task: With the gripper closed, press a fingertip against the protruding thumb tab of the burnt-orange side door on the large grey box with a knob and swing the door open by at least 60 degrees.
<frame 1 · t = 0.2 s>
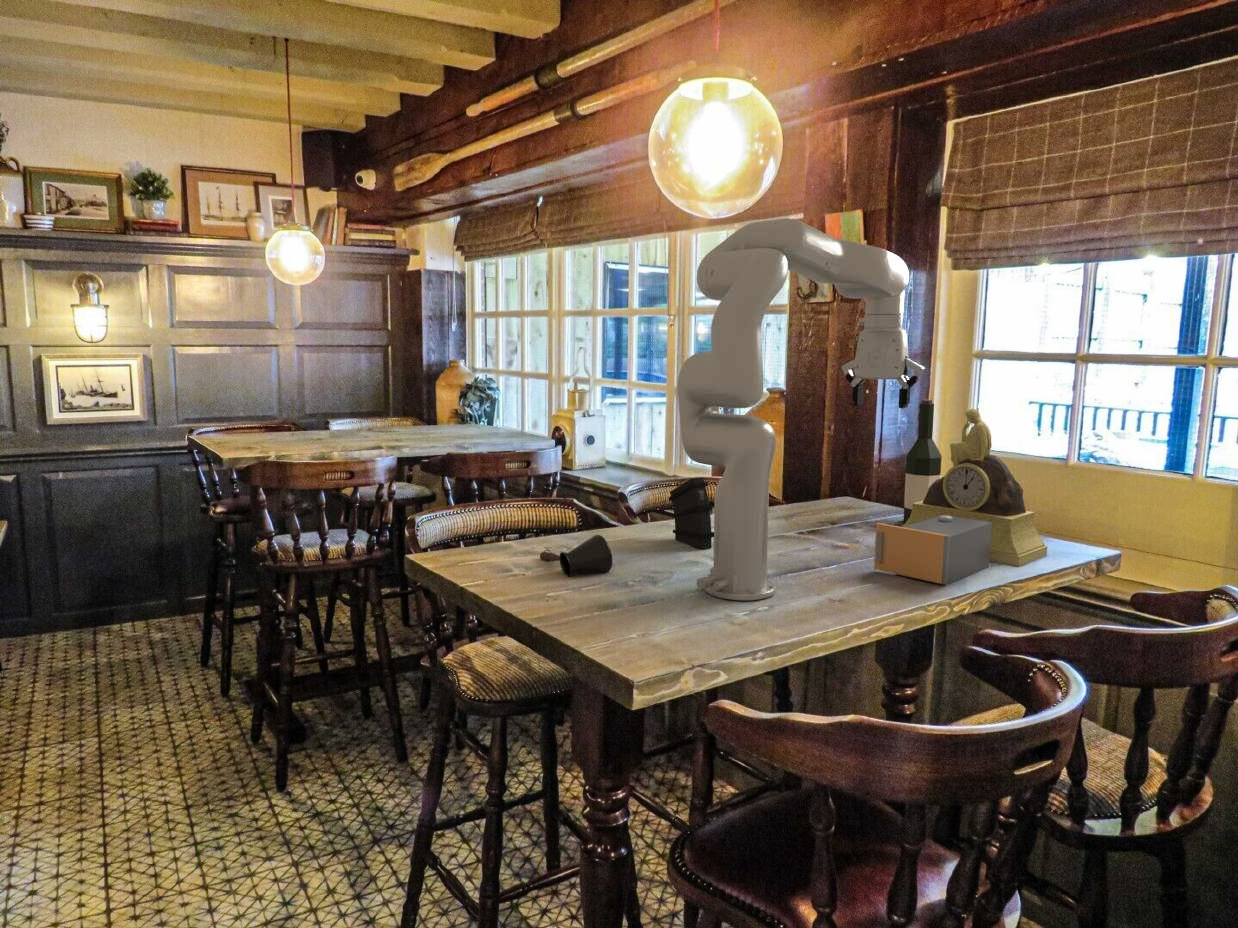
hand: (880, 406, 180), 31 cm above the table, tool pointing down, fingers open, 9 cm apart
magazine: (690, 543, 190), on the table
wine bottle: (920, 524, 208), on the table
coffee pot: (573, 568, 171), on the table
decorative clock: (966, 549, 185), on the table
grey box with knob: (943, 570, 167), on the table
side door: (910, 553, 161), point 5 cm above the table, hinge at 0.0°
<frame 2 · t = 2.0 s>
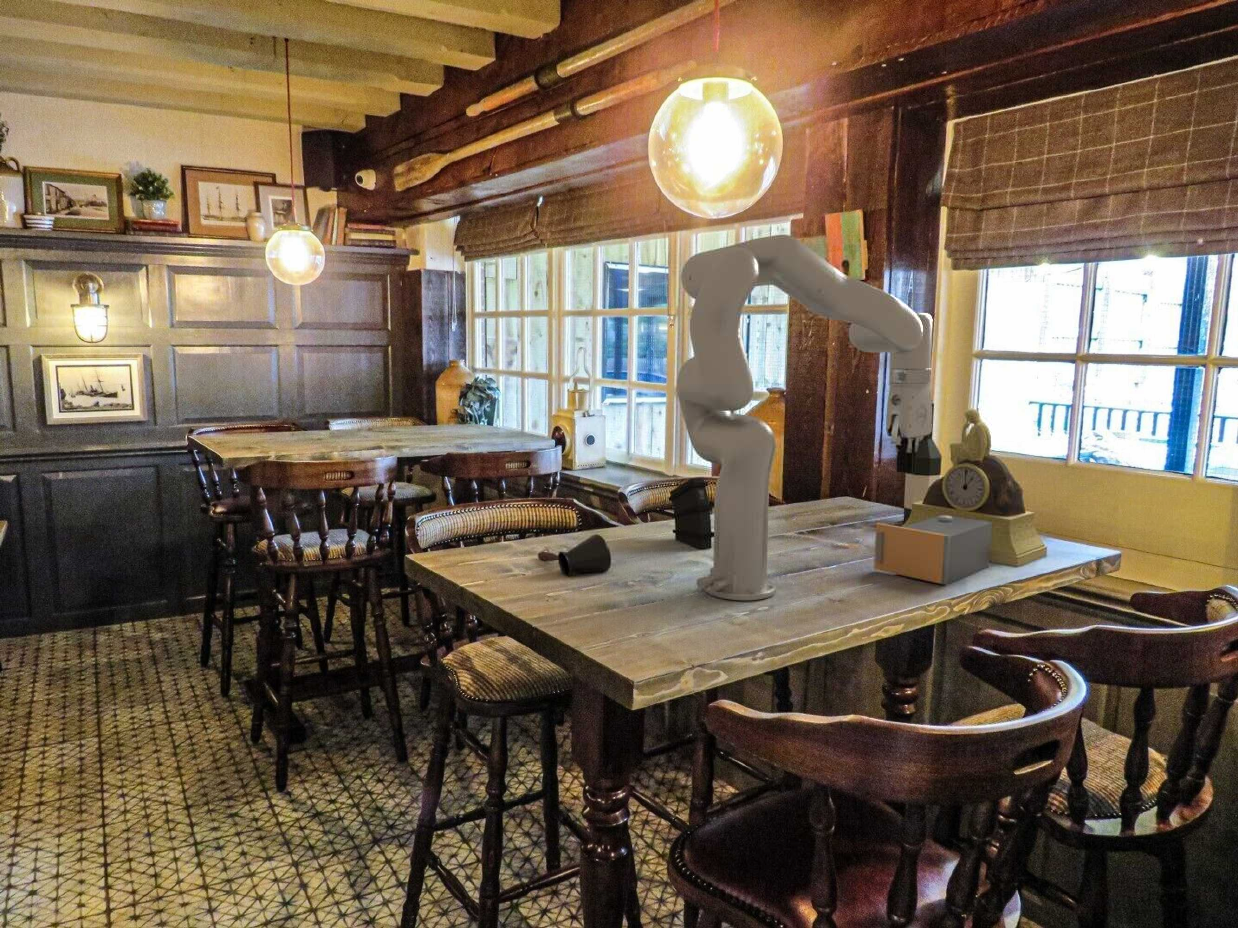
hand: (906, 471, 168), 19 cm above the table, tool pointing down, fingers closed
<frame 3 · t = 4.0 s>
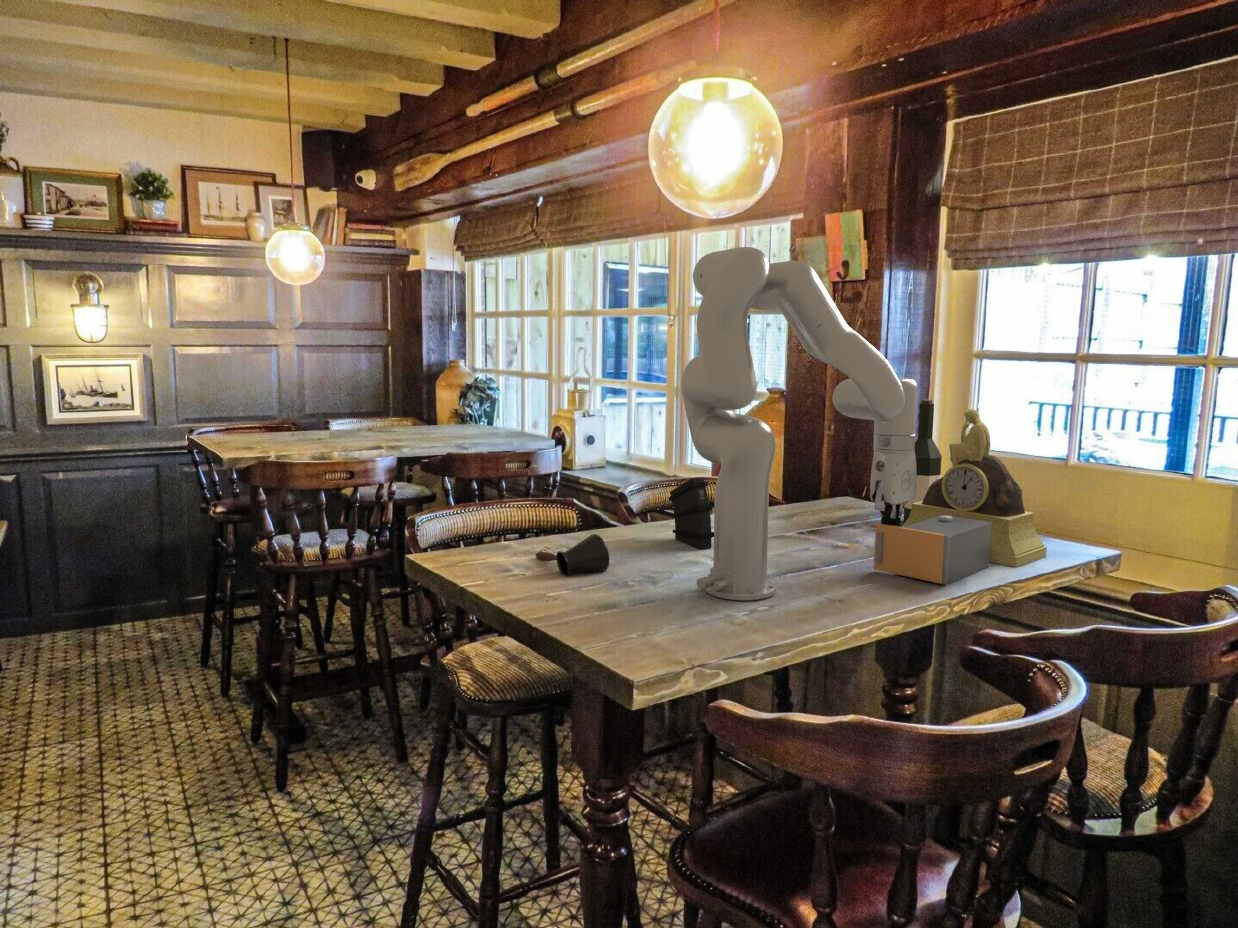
hand: (890, 536, 167), 7 cm above the table, tool pointing down, fingers closed
side door: (910, 553, 161), point 5 cm above the table, hinge at 0.8°, touching gripper
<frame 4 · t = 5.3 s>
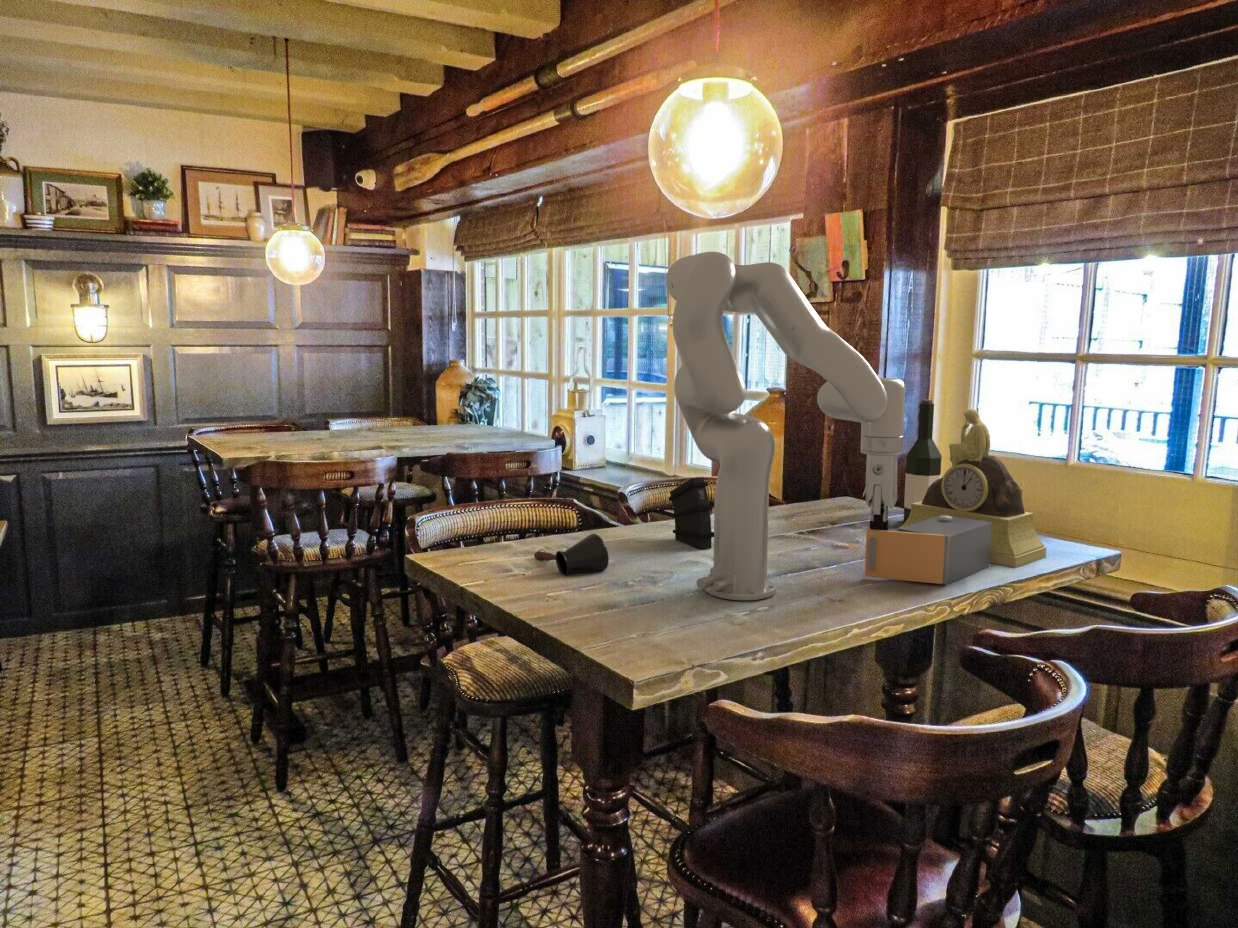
hand: (878, 540, 163), 7 cm above the table, tool pointing down, fingers closed
side door: (906, 556, 159), point 5 cm above the table, hinge at 25.9°, touching gripper
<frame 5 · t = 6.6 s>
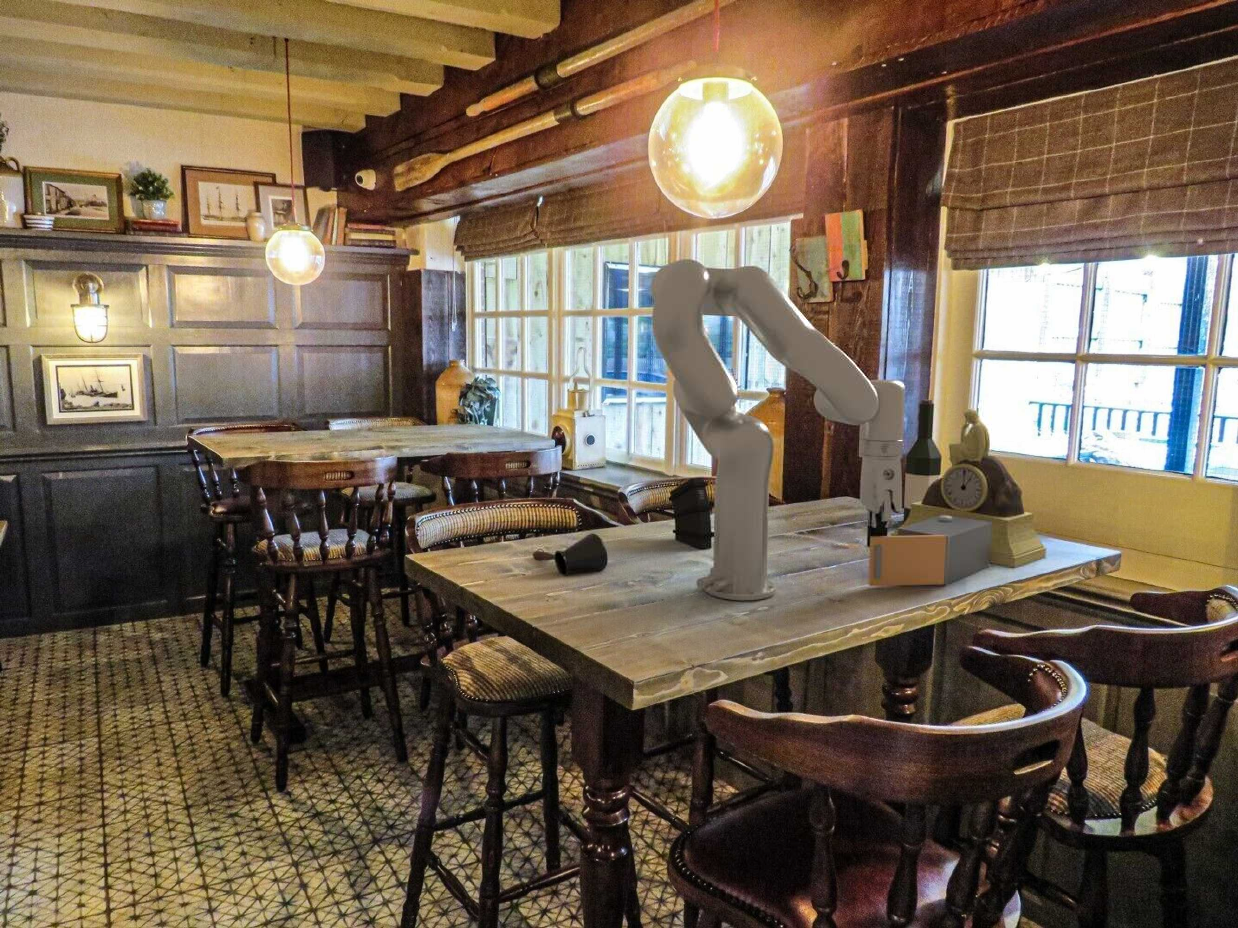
hand: (876, 547, 158), 7 cm above the table, tool pointing down, fingers closed
side door: (909, 560, 156), point 5 cm above the table, hinge at 50.4°, touching gripper
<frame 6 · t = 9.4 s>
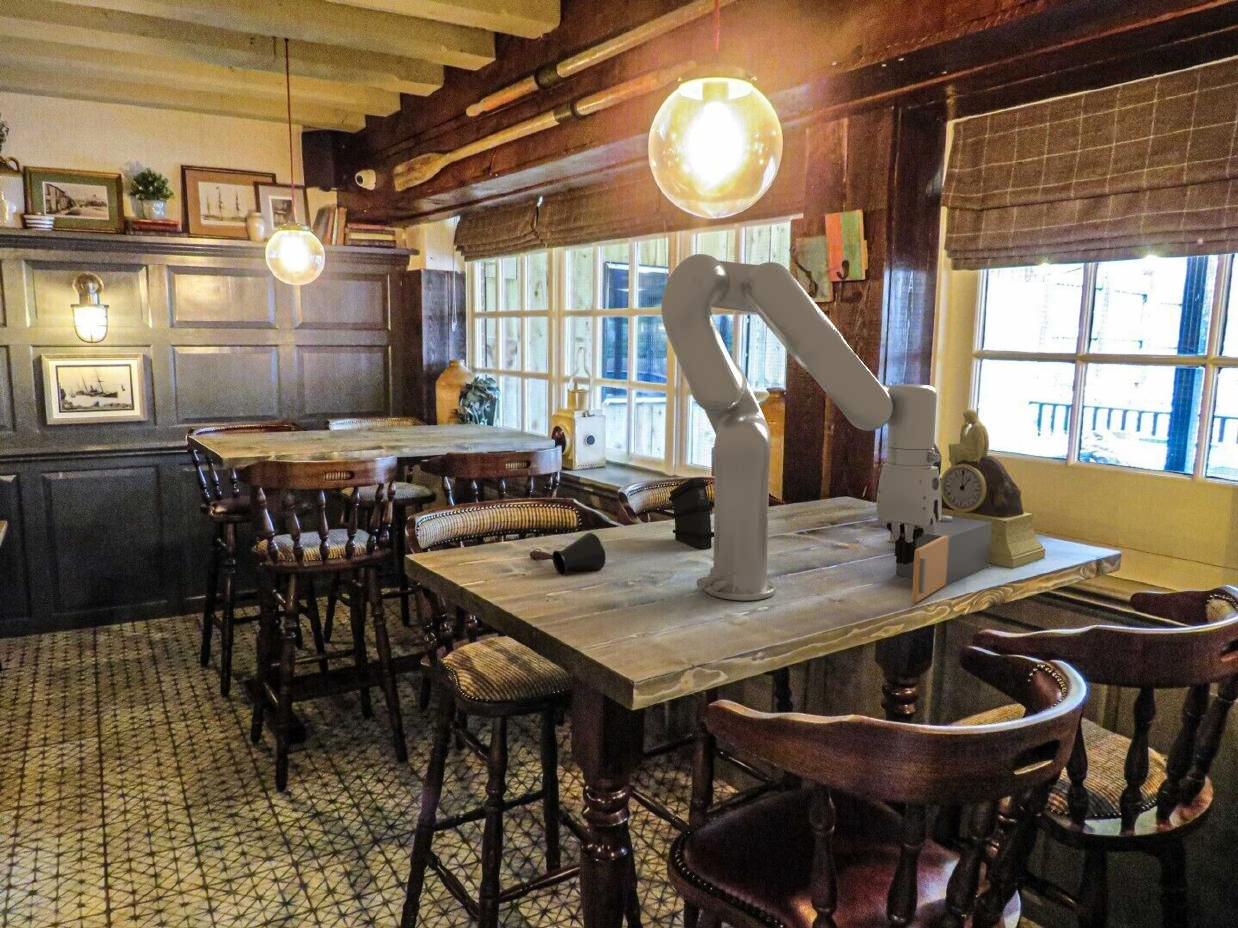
hand: (904, 562, 149), 7 cm above the table, tool pointing down, fingers closed
side door: (933, 567, 151), point 5 cm above the table, hinge at 96.4°
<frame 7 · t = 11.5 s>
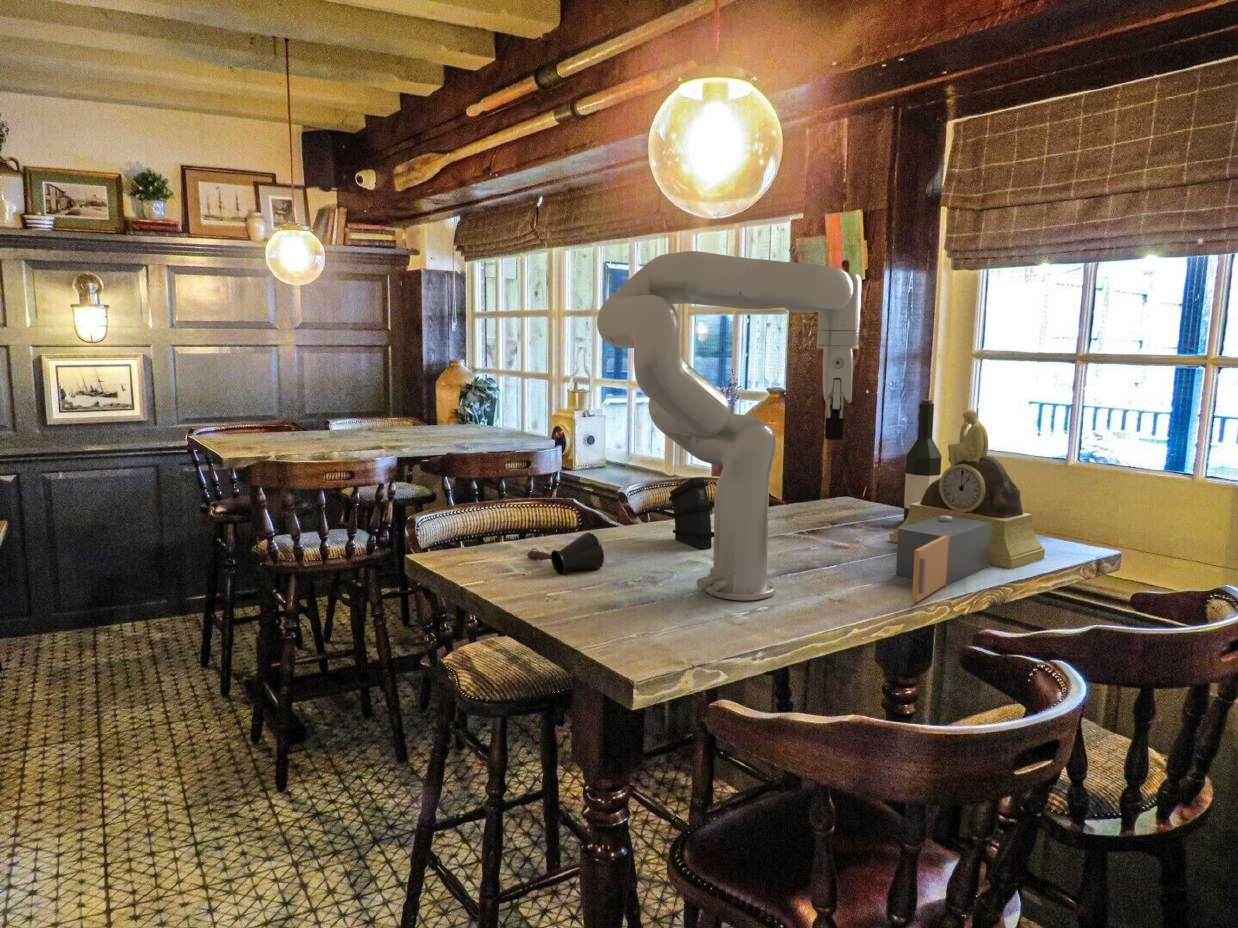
hand: (833, 439, 162), 26 cm above the table, tool pointing down, fingers closed
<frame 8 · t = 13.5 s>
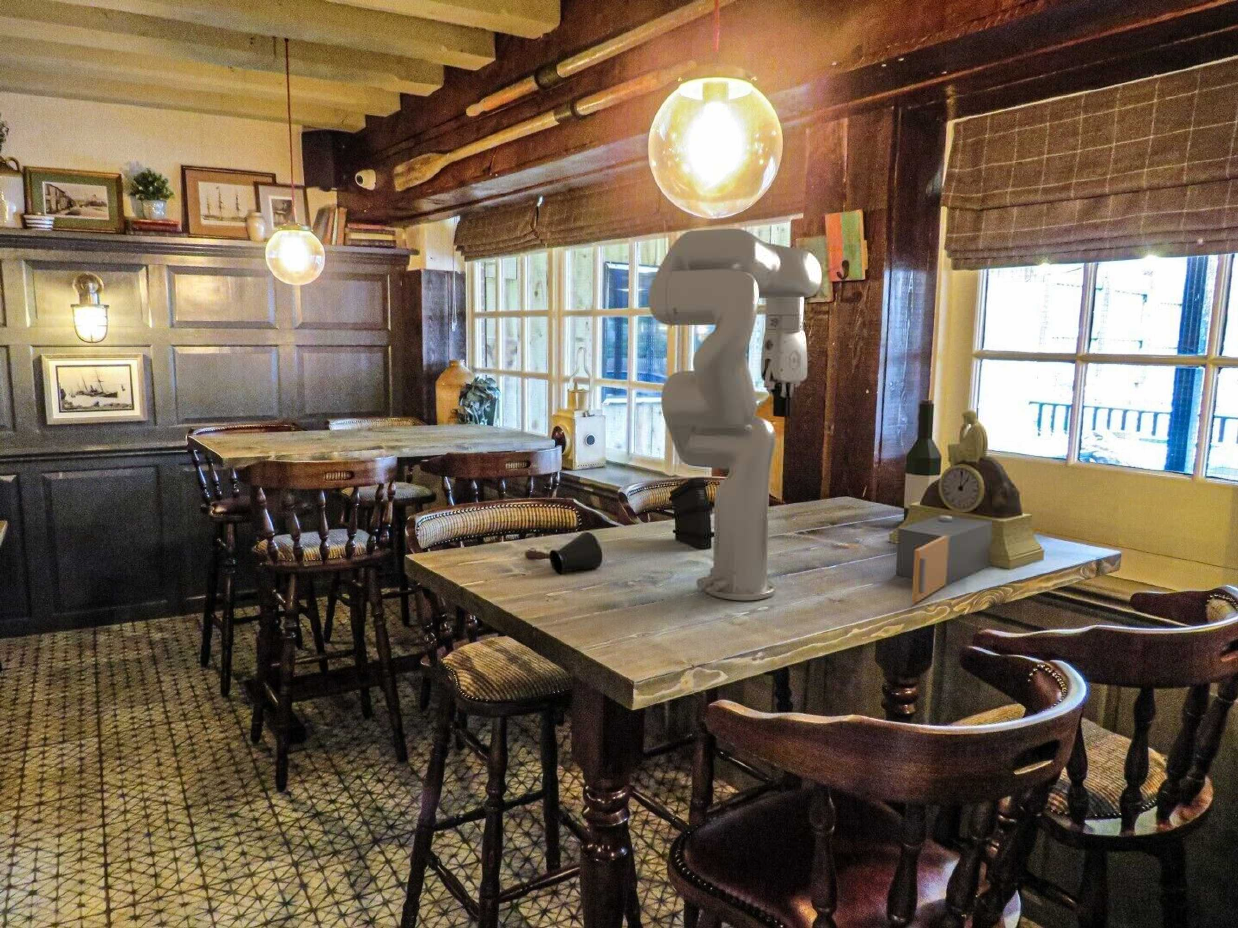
hand: (781, 416, 174), 29 cm above the table, tool pointing down, fingers closed
at the end: side door at +96° (first picture: +0°) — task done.
